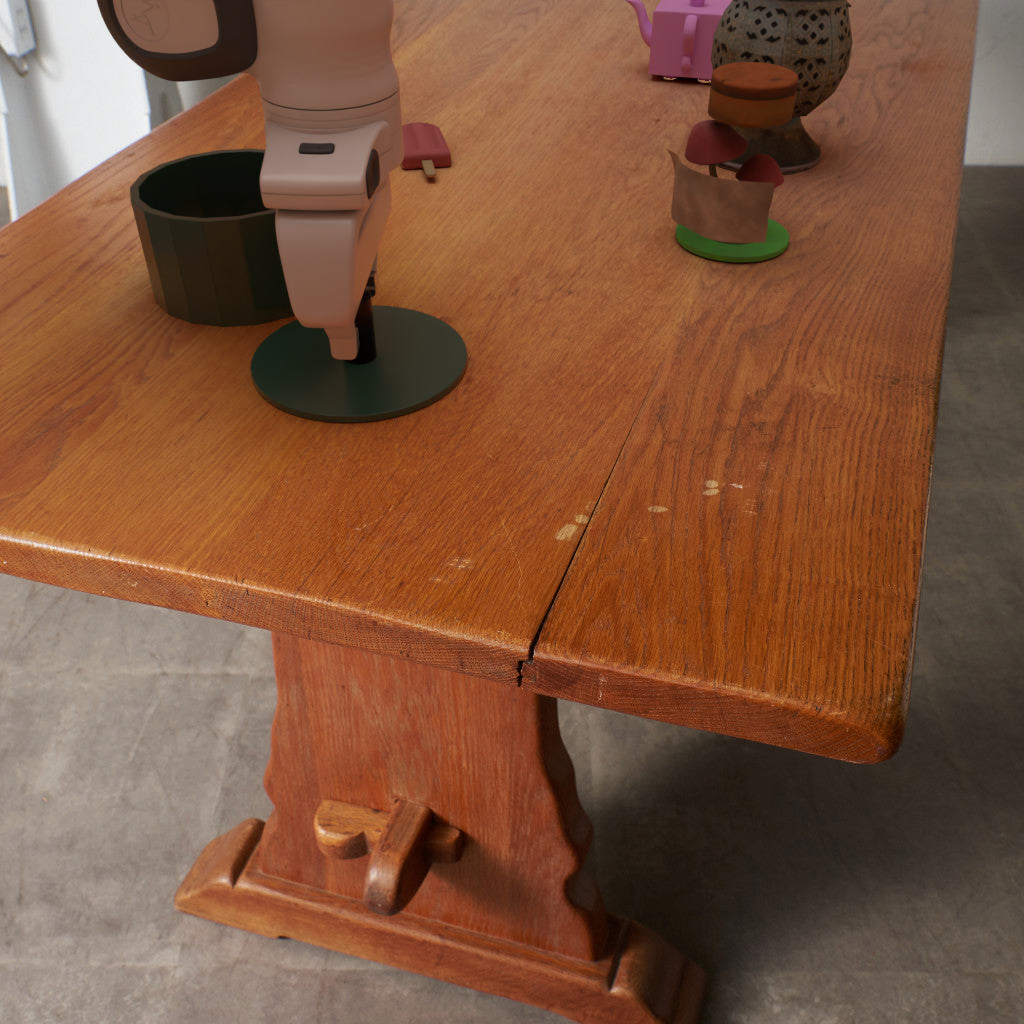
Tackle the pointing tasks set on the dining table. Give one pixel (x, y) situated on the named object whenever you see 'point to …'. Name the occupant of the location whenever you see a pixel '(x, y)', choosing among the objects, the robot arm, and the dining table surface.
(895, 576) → the dining table surface
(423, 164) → the popsicle
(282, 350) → the lid
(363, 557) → the dining table surface
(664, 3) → the teapot
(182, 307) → the bin
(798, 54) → the lantern
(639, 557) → the dining table surface
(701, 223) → the mushroom toy stack
